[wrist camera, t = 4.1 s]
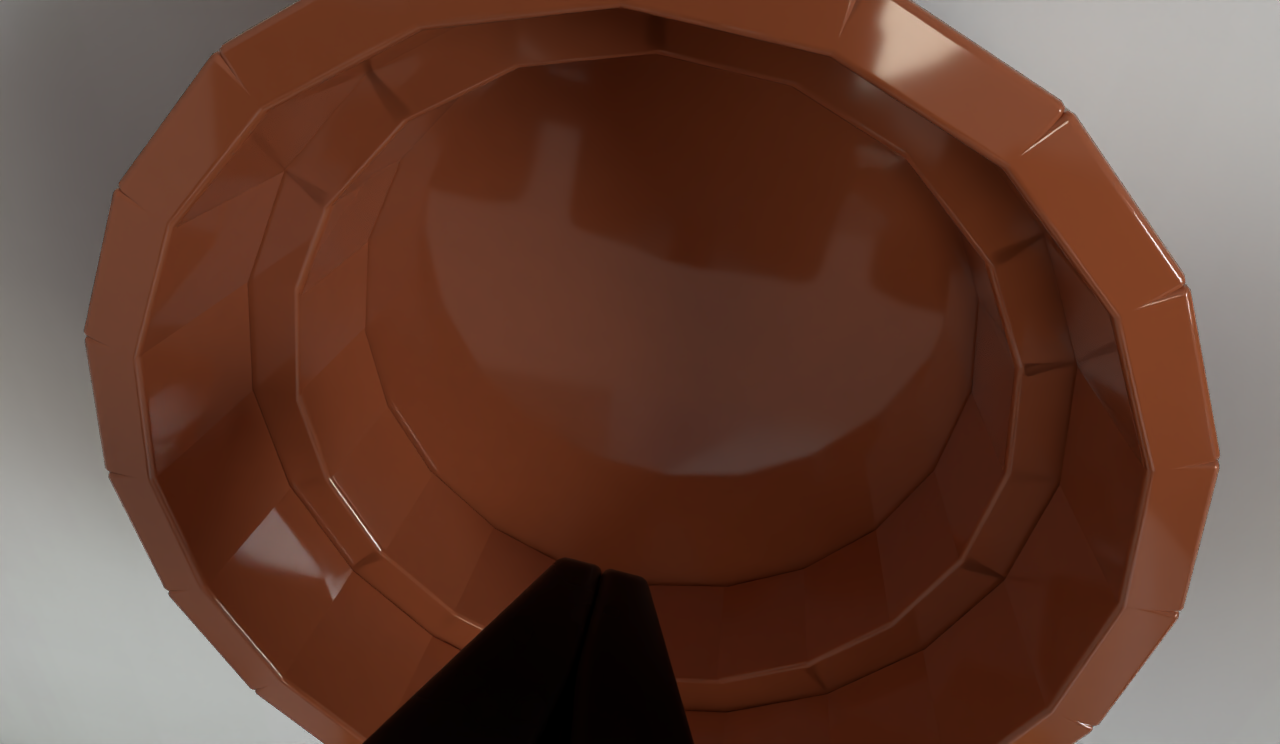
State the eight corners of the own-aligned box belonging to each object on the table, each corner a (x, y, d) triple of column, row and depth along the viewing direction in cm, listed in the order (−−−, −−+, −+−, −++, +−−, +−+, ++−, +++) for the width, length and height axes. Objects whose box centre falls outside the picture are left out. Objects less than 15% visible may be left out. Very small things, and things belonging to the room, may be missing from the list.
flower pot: (894, 677, 15) (934, 948, 11) (309, 526, 16) (146, 737, 12) (1230, 40, 10) (1550, 131, 6) (304, -176, 10) (-13, -234, 6)
